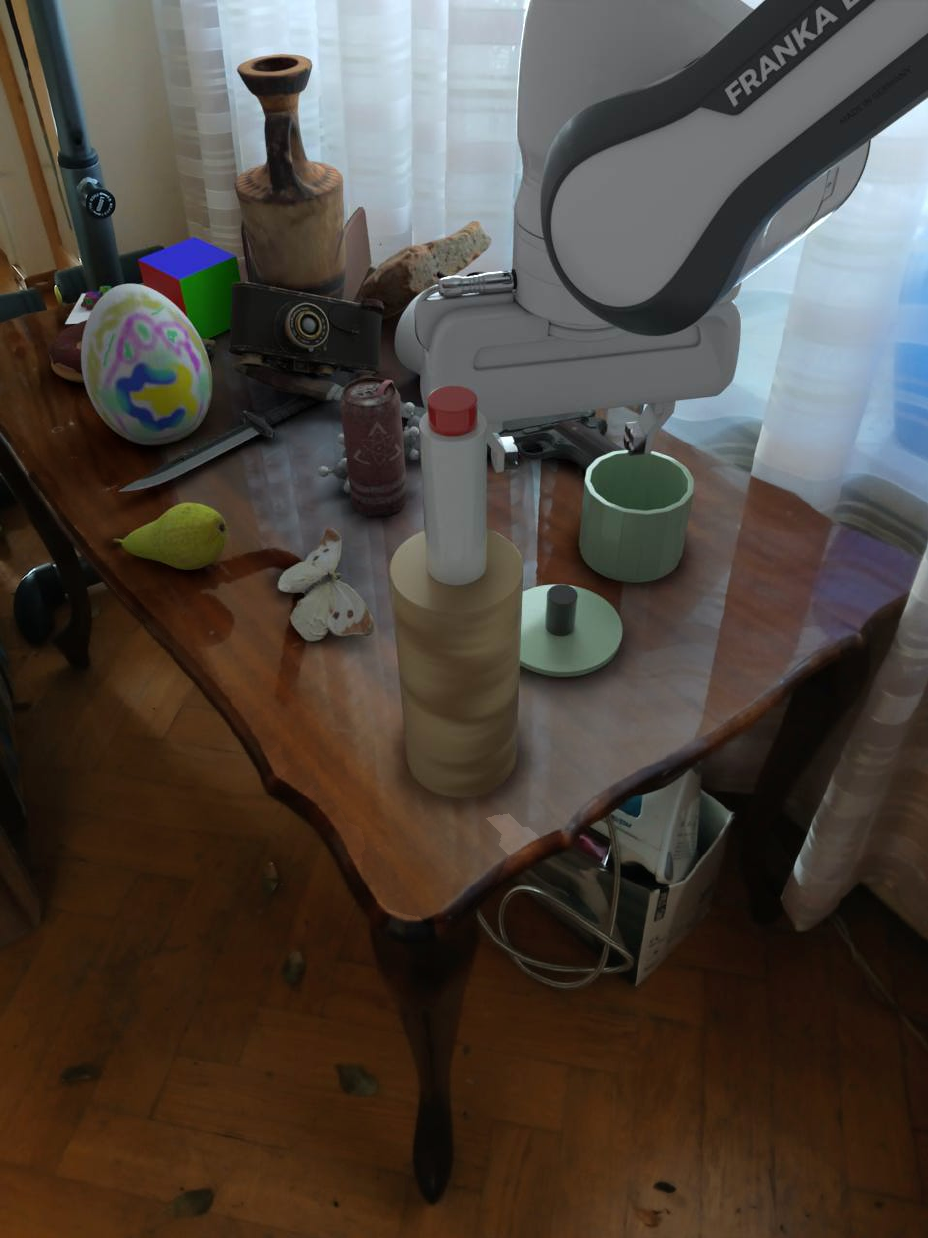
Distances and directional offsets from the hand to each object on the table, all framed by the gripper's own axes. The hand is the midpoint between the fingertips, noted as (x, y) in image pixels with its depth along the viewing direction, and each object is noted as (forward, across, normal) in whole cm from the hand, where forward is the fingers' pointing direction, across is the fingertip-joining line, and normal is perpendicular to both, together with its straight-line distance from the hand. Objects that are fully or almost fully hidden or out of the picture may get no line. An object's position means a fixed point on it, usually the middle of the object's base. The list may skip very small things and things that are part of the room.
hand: (570, 458), depth 67 cm
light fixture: (+13, -4, +51) cm, 53 cm away
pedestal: (+17, -10, -10) cm, 22 cm away
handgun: (+16, +4, +17) cm, 24 cm away
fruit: (+14, -26, +14) cm, 32 cm away
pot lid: (+17, 0, 0) cm, 17 cm away
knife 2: (+17, -12, +36) cm, 42 cm away
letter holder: (+18, -14, +64) cm, 68 cm away
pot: (+17, +9, +9) cm, 22 cm away
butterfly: (+18, -18, +8) cm, 26 cm away
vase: (+18, -16, +49) cm, 55 cm away
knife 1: (+17, -24, +30) cm, 42 cm away
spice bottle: (-1, -10, -10) cm, 14 cm away
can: (+18, -12, +21) cm, 30 cm away
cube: (+18, -28, +60) cm, 69 cm away
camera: (+8, -15, +44) cm, 48 cm away
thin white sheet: (+18, -40, +67) cm, 80 cm away
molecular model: (+16, -9, +24) cm, 31 cm away
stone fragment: (+10, +5, +61) cm, 62 cm away
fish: (+14, -33, +48) cm, 59 cm away
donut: (+18, -39, +52) cm, 68 cm away
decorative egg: (+18, -32, +38) cm, 53 cm away
